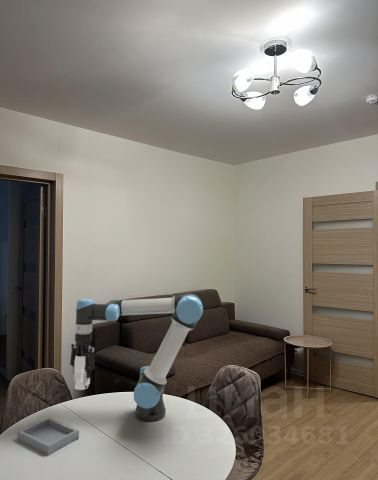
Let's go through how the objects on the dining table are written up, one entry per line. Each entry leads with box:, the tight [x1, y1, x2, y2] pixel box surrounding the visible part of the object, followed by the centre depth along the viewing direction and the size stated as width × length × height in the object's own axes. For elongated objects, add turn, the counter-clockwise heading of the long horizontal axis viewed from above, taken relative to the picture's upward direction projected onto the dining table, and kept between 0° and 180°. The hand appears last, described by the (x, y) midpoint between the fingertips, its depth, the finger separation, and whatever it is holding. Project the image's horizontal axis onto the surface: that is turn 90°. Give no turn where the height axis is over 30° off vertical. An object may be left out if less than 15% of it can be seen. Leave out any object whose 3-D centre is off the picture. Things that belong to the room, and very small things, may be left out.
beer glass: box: [74, 353, 89, 391], centre depth 159 cm, size 7×7×15 cm
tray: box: [16, 417, 80, 456], centre depth 145 cm, size 20×15×4 cm
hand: (81, 383), depth 159 cm, fingers closed on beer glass, 6 cm apart
